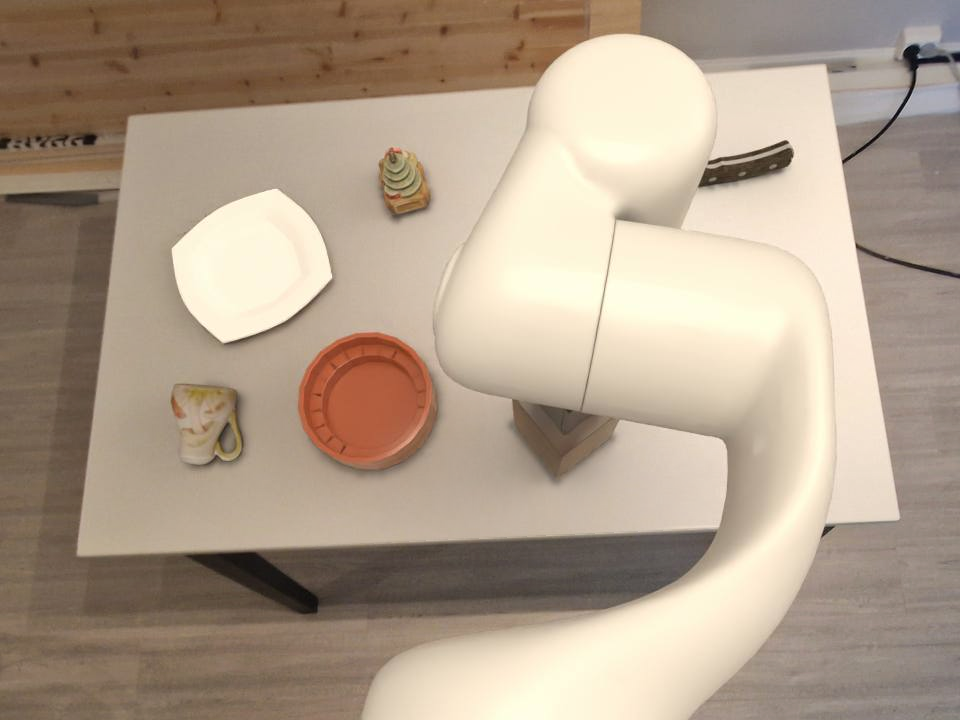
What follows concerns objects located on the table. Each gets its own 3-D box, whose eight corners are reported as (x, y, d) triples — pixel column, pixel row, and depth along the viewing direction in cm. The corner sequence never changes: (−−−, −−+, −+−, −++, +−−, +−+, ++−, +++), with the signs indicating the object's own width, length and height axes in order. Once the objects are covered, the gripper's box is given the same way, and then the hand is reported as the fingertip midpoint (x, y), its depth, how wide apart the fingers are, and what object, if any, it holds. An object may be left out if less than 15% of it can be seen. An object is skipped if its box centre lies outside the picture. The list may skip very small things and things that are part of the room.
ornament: (375, 174, 95) (358, 128, 86) (418, 159, 95) (406, 112, 86) (392, 223, 93) (376, 181, 83) (437, 208, 93) (426, 164, 83)
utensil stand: (611, 436, 82) (639, 381, 60) (557, 478, 81) (566, 438, 59) (567, 384, 84) (579, 313, 62) (514, 424, 83) (507, 366, 61)
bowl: (462, 418, 84) (457, 407, 79) (357, 496, 82) (345, 490, 77) (390, 324, 88) (381, 307, 83) (289, 396, 86) (273, 384, 81)
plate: (160, 252, 94) (152, 245, 92) (286, 179, 96) (281, 171, 94) (222, 366, 88) (215, 362, 86) (355, 286, 90) (351, 280, 88)
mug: (174, 472, 85) (131, 415, 78) (219, 412, 91) (183, 356, 84) (224, 481, 82) (184, 423, 75) (267, 419, 88) (234, 361, 82)
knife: (798, 135, 87) (559, 161, 85) (804, 152, 86) (563, 179, 85) (778, 163, 93) (553, 188, 91) (783, 179, 92) (557, 205, 90)
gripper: (454, 187, 40) (478, 312, 57) (640, 401, 35) (604, 466, 53) (559, 116, 41) (550, 260, 58) (752, 314, 36) (680, 406, 54)
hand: (576, 357), depth 55 cm, fingers closed
